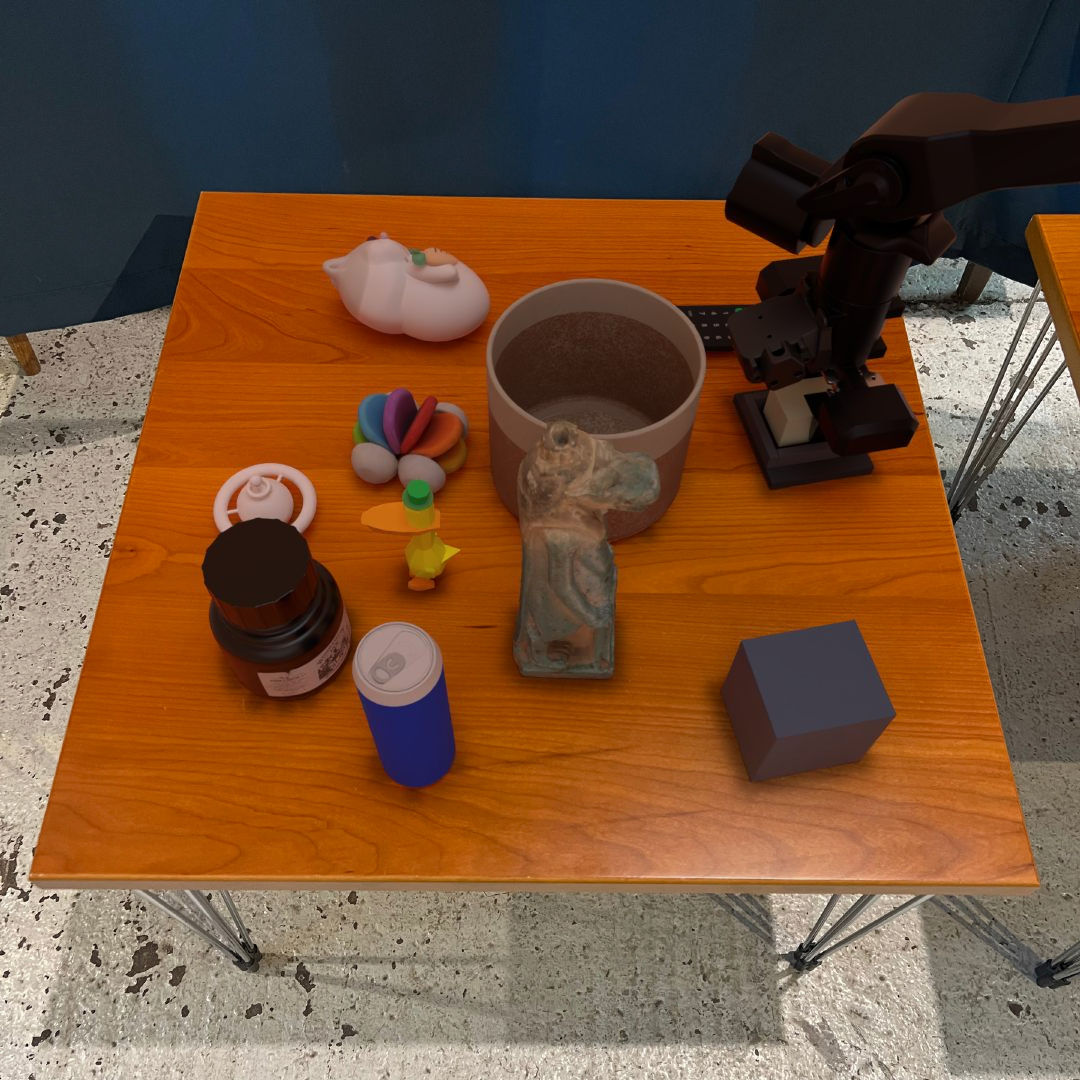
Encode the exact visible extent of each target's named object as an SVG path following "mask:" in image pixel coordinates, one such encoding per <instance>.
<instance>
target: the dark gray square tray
mask: <svg viewBox="0 0 1080 1080" xmlns="http://www.w3.org/2000/svg"><path fill="white" fill-rule="evenodd" d="M769 391H770V390H768V389H767V388H763V389H756V390H749V391H742V392H736V393H734V394H733V397H732V403H733V406H734V408H735V411H736V413H737V416H738V418H739V420H740V423H741V425H742V427H743V430H744V432H745V434H746V437H747V439H748V443H749V444H750V447H751V449H752V451H753V455H754V456H755V459H756V461H757V463H758V466H759V468H760V471H761V473H762V476H763V478H764V480H765V482H766V483H765V484H766V485H767V487H768V490H769V491H774V490H780V489H787V488H794V487H798V486H799V487H800V486H805V485H811V484H817V483H823V482H830V481H831V482H832V481H836V480H842V479H848V478H855V477H862V476H867V475H872V473H873V471H874V469H875V465H874V462H873V461H872V459H871V457H870V455H869V453H865V454H859V455H853V456H846V457H841V456H839V455H837V454H835V453H833V452H832V450H831V448H830V446H829V444H828V442H827V440H823V441H821V442H816V443H810V442H807V443H801V444H794V445H788V446H782V447H778V445H777V442H776V440H775V438H774V435H773V433H772V431H771V428H770V426H769V424H768V422H767V419H766V417H765V415H764V412H763V410H764V407H765V404H766V401H767V398H768V395H769Z"/></svg>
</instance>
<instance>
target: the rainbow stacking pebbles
mask: <svg viewBox="0 0 1080 1080" xmlns="http://www.w3.org/2000/svg"><path fill="white" fill-rule="evenodd" d="M412 393H413V392H411V391H410V390H408V389H407V388H404V387H403V388H402V387H399V388H396V389H394V390H392V391H388V392H386V393H381V392H380V393H379V392H376V393H372V394H369V395H367V396H366V397H364V398H363V399H362V400H361V402H360V403H359V404H358V408H357V420H356V422H355V423H354V425H353V428H352V441H353V443H354V447H353V449H352V450H351V454H350V455H351V456H350V457H351V458H350V461H351V466H352V469H353V471H354V473H355V474H356V475H357V476H358V477H359V478H360V479H361V480H363V481H364V482H367V483H369V484H375V485H378V484H379V485H380V484H385V483H388V482H389V481H391V480H392V479H394V478H395V477H396V475H397V476H398V478H399V482H400V483H401V484H402V486H403V487H404V488H405V489H406V488H407V486H408V485H409V483H410V481H414V480H418V479H420V480H423V481H425V482H427V483H428V485H429V487H430V489H431V491H432V493H433V494H435V493H437V492H438V491H440V490H441V489H442V488H443V487H444V486H445V484H446V482H447V476H446V475H447V474H448V475H449V474H453V473H455V472H456V471H458V470H460V469H461V468H463V466H464V465H465V463H466V461H467V457H468V448H467V445H466V442H465V439H467V437H468V435H469V431H470V424H469V423H470V422H469V420H468V417H467V415H466V413H465V411H463V410H462V408H461V407H459V406H457V405H456V404H454V403H450V402H445V401H444V402H439V400H438V398H437V397H435V396H434V395H429V396H427V397H426V398H424V401H423V402H422V404H421V405H420V406H419V404H418V402H417V400H415V398H414V396H413V395H414V394H412ZM402 454H403V456H402Z"/></svg>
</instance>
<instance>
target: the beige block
mask: <svg viewBox="0 0 1080 1080" xmlns="http://www.w3.org/2000/svg"><path fill="white" fill-rule="evenodd" d="M831 386H832V385H828V384H827V383H826V381H825V379H824V377H823V376H822V377H816V378H809V379H802V380H801V381H800V382H797V383H795V384H792V385H789V386H787V387H784V388H781V389H779V390H776V391H771V390H770V391H769V395H768V398H767V401H766V404H765V407H764V410H763V412H764V415H765V417H766V419H767V422H768V424H769V426H770V428H771V431H772V433H773V435H774V438H775V440H776V442H777V445H778V447H782V446H788V445H794V444H801V443H807V442H809V431H810V426H811V422H812V417H813V415H812V413H811V411H810V409H809V407H808V404H807V402H806V400H805V398H804V395H805V394H811V393H818V392H825V391H826V390H827V389H832V387H831ZM832 390H833V389H832ZM825 440H826V439H825Z"/></svg>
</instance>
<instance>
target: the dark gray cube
mask: <svg viewBox="0 0 1080 1080" xmlns="http://www.w3.org/2000/svg"><path fill="white" fill-rule="evenodd" d="M720 694H721V697H722V700H723V703H724V706H725V709H726V712H727V715H728V719H729V721H730V724H731V727H732V730H733V733H734V736H735V739H736V741H737V745H738V748H739V751H740V754H741V756H742V760H743V764H744V766H745V768H746V772H747V775H748V778H749V781H750V783H756V782H763V781H766V780H772V779H776V778H781V777H787V776H792V775H797V774H801V773H807V772H811V771H817V770H821V769H826V768H832V767H836V766H837V767H838V766H841V765H842V766H843V765H847V764H852V763H858V762H860V761H861V760H862V759H863V757H864V756H866V754H867V753H868V752H869V750H870V749H871V748H872V747H873V746H874V744H875V742H876V741H877V740H878V739H879V738H880V737H881V736H882V734H884V732H885V731H886V729H887V728H888V727H889V726H890V724H891V723H892V722H893V721H894V719H895V718H896V717H897V712H896V710H895V708H894V704H893V703H892V701H891V699H890V697H889V696H890V695H889V694H888V692H887V689H886V687H885V685H884V683H883V680H882V677H881V676H880V674H879V671H878V668H877V666H876V664H875V662H874V659H873V656H872V655H871V653H870V651H869V648H868V645H867V643H866V640H865V639H864V636H863V634H862V632H861V630H860V627H859V625H858V623H857V620H856V619H851V620H846V621H840V622H839V621H838V622H834V623H828V624H823V625H818V626H811V627H805V628H800V629H796V630H789V631H784V632H779V633H773V634H767V635H761V636H757V637H752V638H745V639H742V640H740V643H739V645H738V648H737V650H736V653H735V655H734V657H733V659H732V662H731V665H730V666H729V670H728V672H727V675H726V677H725V680H724V682H723V684H722V687H721V688H720Z"/></svg>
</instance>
